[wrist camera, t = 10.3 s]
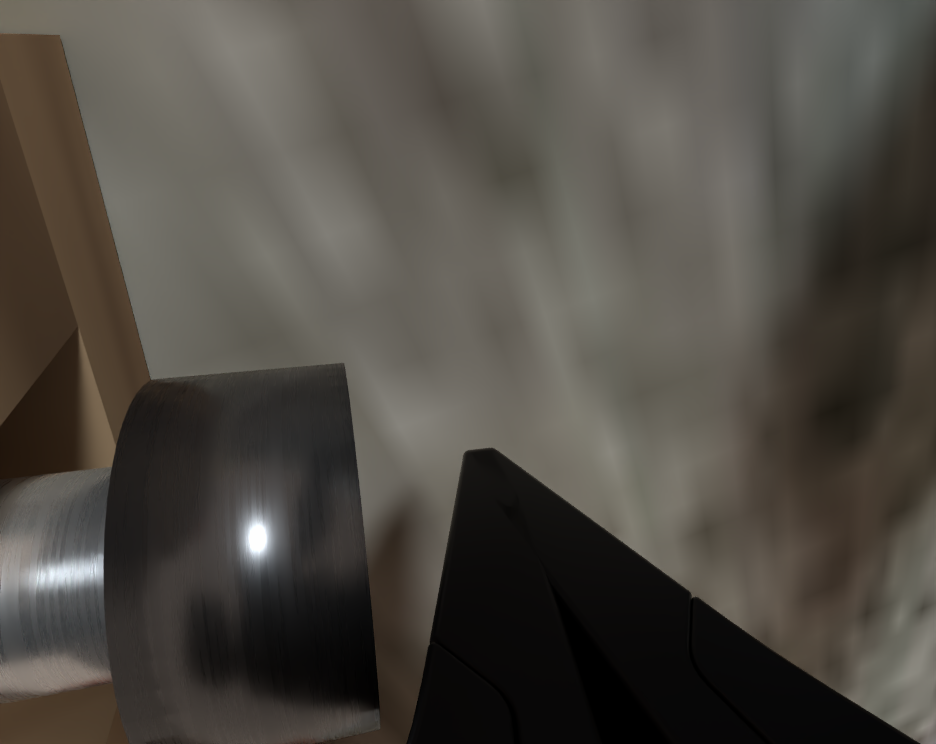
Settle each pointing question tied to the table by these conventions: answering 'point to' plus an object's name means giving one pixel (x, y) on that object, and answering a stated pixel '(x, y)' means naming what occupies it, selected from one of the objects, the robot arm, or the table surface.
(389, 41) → the table surface
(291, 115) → the table surface
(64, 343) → the mount
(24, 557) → the charcoal knob
